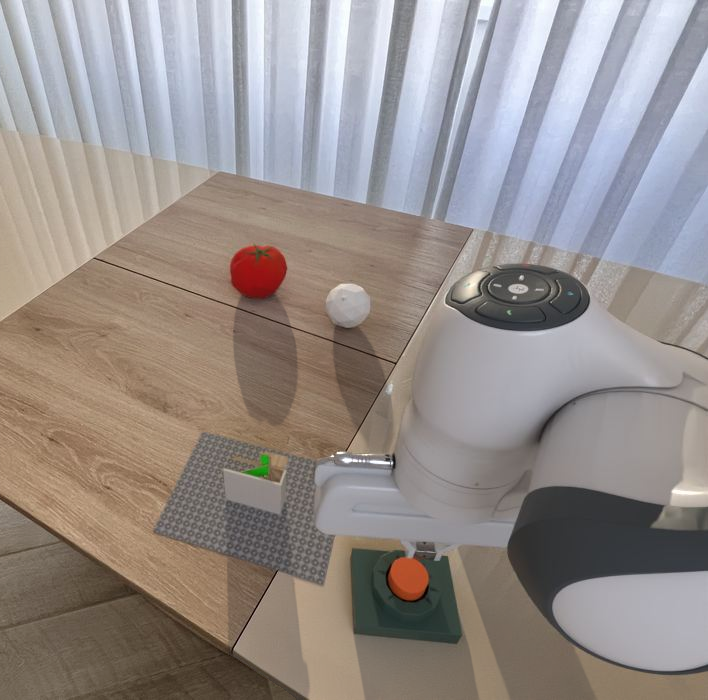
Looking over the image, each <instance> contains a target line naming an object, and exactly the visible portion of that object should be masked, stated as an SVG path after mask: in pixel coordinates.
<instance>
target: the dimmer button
mask: <svg viewBox="0 0 708 700" xmlns="http://www.w3.org/2000/svg"><path fill="white" fill-rule="evenodd" d="M428 581H429V577H428V573H427V570H426V569H425V567H424V566H423V565H422V564H421V563H420V562H419V561H417V560H415V559H409V558H406V557H403V558H399V559H397V560H396V561H395V562H394V563H393V564H392V566H391V569H390V572H389V576H388V583H389V586H390V588H391V590H392V591H393V593H394V594H395V595H397V596H398V597H399V598H401V599H404V600H408V601H413V600H417V599H419V598H420V597H421V596H422V595H423V594H424V592H425V589H426V587H427V585H428Z"/></svg>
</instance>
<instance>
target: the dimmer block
mask: <svg viewBox="0 0 708 700" xmlns="http://www.w3.org/2000/svg"><path fill="white" fill-rule="evenodd" d="M403 557H406V554H405V549H404V550H402V549H393V550H380V549H367V548H355V547H352V548H351V552H350V558H349V563H350V585H351V608H352V609H351V610H352V611H351V612H352V629H353V630H352V631H353V635H359V636H370V637H381V638H392V639H401V640H402V639H403V640H411V641H412V640H413V641H421V642H422V641H423V642H431V643H433V642H434V643H442V644H443V643H444V644H455V645H458V643H459V642H460V640H461V638H462V637H463V631H462V625H461V620H460V615H459V614H460V613H459V610H458V604H457V598H456V592H455V588H454V582H453V576H452V570H451V565H450V559H449V556H448V555H444V554H442V556H441V558H440V561H434V560H424V559H415V560H417V561H419V562H420V563H421V564H422V565H423V566H424V567H425V569H426V570H427V573H428V577H429V581H428V585H427V587H426V589H425V592H424V594H423V595H422V596H421V597H420V598H419V599H417V600H413V601H408V600H404V599H401V598H399V597H398V596H397V595H395V594H394V593H393V591H392V590H391V588H390V586H389V583H388V576H389V572H390V569H391V566H392V564H393V563H394V562H395V561H396V560H397V559H399V558H403Z"/></svg>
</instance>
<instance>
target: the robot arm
mask: <svg viewBox="0 0 708 700" xmlns="http://www.w3.org/2000/svg"><path fill="white" fill-rule="evenodd" d="M410 393H411V400H410V401H409V402H408V404H407V406H406V407H405V409H404V411H403V414H402V415H401V416H402V417H401V420H400V425H399V429H398V432H397V437H396V441H395V445H394V449H393V453H377V452H376V453H375V452H369V453H368V452H367V453H358V452H357V453H356V452H352V451H344V450H343V451H335V452H334V453H333V455H328V456H325V457H321V458H318V459H317V460H316V463H315V465H314V470H313V480H314V482H315V484H316V490H315V496H314V525H315V527H316V528H317V529H318V530H319V531H321V532H322V533H324V534H327V535H334V536H340V537H341V536H343V537H353V538H354V537H355V538H366V539H367V538H369V539H380V540H381V539H382V540H392V541H393V540H395V541H399V542H400V543H401V544H402V545H403V547H404V550H405V554H406V558H409V559H424V560H434V561H440V558H441V556H442V555H444V554H446V553H448V552H451V551H452V550H455V549H457V548H460V547H461V546H472V547H486V548H499V549H506V552H507V553H506V554H507V557H508V560H509V563H510V565H511V567H512V570H513V571H514V573H515V576H516V577H517V579H518V581H519V583H520V584H521V586H522V588H523V589H524V590H525V592H526V594H527V596H528V597H529V599H530V600H531V602H532V603H533V605H534V606H535V607H536V608H537V610H538V611H539V613H541V615H542V616H543V617H544V618H545V620H547V622H548V623H549V624H550V625H551V626H552V627H553V628H554V629H555V630H556V631H557V632H558V633H559V635H561V636H562V637H563V638H564V639H565V640H567V641H568V642H569V643H570V644H572V645H573V646H574V647H576V648H578V649H579V650H580V651H582V652H584V653H586V654H588V655H590V656H591V657H594V658H595V659H598V660H601V661H603V662H605V663H607V664H611V665H613V666H615V667H620V668H623V669H627V670H631V671H635V672H638V673H639V672H640V673H643V674H644V673H645V674H650V675H659V676H687V675H694V674H695V675H696V674H701V673H707V672H708V357H707V356H706V355H703V354H701V353H700V352H697V351H695V350H692V349H689V348H687V347H685V346H682V345H681V346H680V345H677V344H673V343H669V342H664V341H660V340H656V339H654V338H652V337H650V336H648V335H646V334H645V333H642V332H640V331H638V330H636V329H634V328H632V327H631V326H629V325H627V324H626V323H624V322H623V321H622V320H620V319H619V318H617V317H616V316H615V315H613V314H612V313H611V312H609V311H608V310H607V309H606V308H604V306H603V305H602V304H601V303H600V302H599V301H598V299H597V298H596V296H595V295H594V294H593V292H592V291H591V290H590V288H589V287H588V286H587V285H586V284H585V283H583V282H582V281H581V280H579V278H576V277H575V276H573V275H572V274H569V273H568V272H565V271H563V270H560V269H558V268H557V269H556V268H554V267H549V266H546V265H539V264H535V263H520V262H519V263H504V264H496V265H490V266H487V267H483V268H479V269H477V270H474V271H472V272H470V273H468V274H467V275H465V276H463V277H461V278H460V279H458V280H457V281H456V282H454V283H453V285H451V286H450V287H449V289H448V290H446V292H445V293H444V294H443V295H442V297H441V298H440V299H439V301H438V302H437V304H436V306H435V307H434V310H433V312H432V313H431V316H430V319H429V320H428V323H427V326H426V329H425V330H424V333H423V337H422V340H421V342H420V346H419V349H418V352H417V356H416V360H415V363H414V367H413V371H412V374H411V381H410Z"/></svg>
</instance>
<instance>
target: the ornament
mask: <svg viewBox="0 0 708 700" xmlns="http://www.w3.org/2000/svg"><path fill="white" fill-rule="evenodd" d="M324 307H325V314H326V315H327V317H328V318H329V320H330V321H331V323H332V324H334V325H336V326H339V327H342V328H346V329H349V328H356V327H357V326H359V325H361V324H362V323H363V322H364V321H365V320H366V319H367V317H368V316H369V315H370V312H371V297H370V295H369V294H368V293H367V292H366V290H365V289H364V288H363V287H362V286H359V285H357V284H355V283H339V284H338V285H337V286H335V287H334V288H333V289H331V290H330V291H329V292H328V295H327V297H326V299H325V305H324Z"/></svg>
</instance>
